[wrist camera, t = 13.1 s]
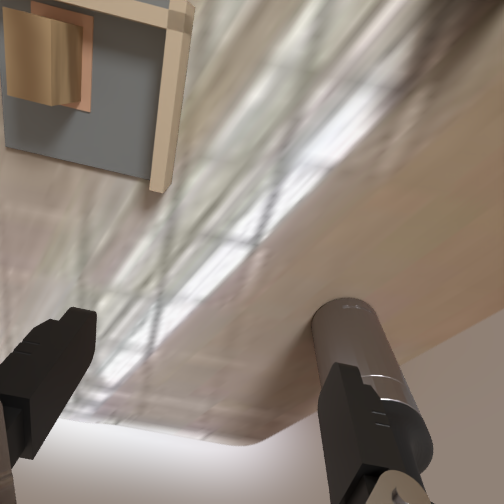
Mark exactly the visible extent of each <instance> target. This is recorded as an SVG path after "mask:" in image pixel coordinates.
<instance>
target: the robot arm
mask: <svg viewBox="0 0 504 504" xmlns="http://www.w3.org/2000/svg"><path fill="white" fill-rule="evenodd" d="M96 322H97V314H96V312H95V311H90V310H85V309H81V308H76V307H71V308H69V309H68V310H67V312H66V313H65V314H64V315H63V316H62V318H61V319H60V320H59V321H57V320H52V319H49V320H47V321H45V322H43V323H42V324H40V325H38V326H36V327H34V328H33V329H32V330H31V331H30V332H29V334H28V335H27V336H26V337H25V338H24V339H23V341H22V343H21V342H20V343H19V345H18V346H17V347H16V348H15V349H14V351H13V353H12V352H11V353H10V354H9V356H8V357H7V358H6V359H5V360H4V361H3V362H2V363H1V364H0V504H16V496H15V489H14V482H13V475H12V472H11V469H12V468H13V466H14V465H15V463H16V461H17V460H18V458H19V457H20V458H25V459H31V460H33V459H34V457H35V456H36V454H37V452H38V450H39V449H40V447H41V446H42V444H43V442H44V441H45V439H46V437H47V436H48V434H49V432H50V430H51V429H52V427H53V426H54V424H55V422H56V420H57V419H58V417H59V416H60V414H61V412H62V411H63V409H64V407H65V406H66V404H67V402H68V401H69V399H70V397H71V396H72V394H73V392H74V391H75V389H76V387H77V386H78V384H79V383H80V381H81V379H82V378H83V376H84V374H85V373H86V371H87V369H88V368H89V366H90V364H91V361H92V359H93V356H94V352H95V342H96ZM311 328H312V334H313V341H314V349H315V354H316V360H317V366H318V372H319V378H320V384H321V392H320V395H319V399H318V417H319V424H320V431H321V438H322V444H323V451H324V457H325V464H326V472H327V478H328V485H329V493H330V502H331V504H434V503H432V502H431V501H430V499H429V498H428V495H427V494H426V491H425V488H424V485H423V482H422V479H421V476H420V474H421V473H422V472H423V471H424V470H425V469H426V468H427V467H428V465H429V464H430V462H431V459H432V456H433V443H432V440H431V436H430V434H429V432H428V429H427V427H426V425H425V422H424V420H423V418H422V417H421V414H420V411H419V409H418V407H417V405H416V402H415V400H414V398H413V396H412V394H411V392H410V389H409V387H408V385H407V382H406V380H405V378H404V376H403V374H402V371H401V370H400V367H399V364H398V362H397V360H396V358H395V355H394V353H393V351H392V349H391V346H390V344H389V342H388V340H387V337H386V335H385V333H384V331H383V328H382V326H381V324H380V322H379V319H378V317H377V315H376V313H375V311H374V310H373V308H372V307H371V306H370V305H368V304H367V303H365V302H363V301H361V300H358V299H353V298H341V299H336V300H333V301H331V302H328V303H327V304H325V305H324V306H322V307H321V308H320V309H319V310H318V311H317V312H316V314H315V315H314V317H313V320H312V326H311Z"/></svg>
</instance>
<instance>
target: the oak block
mask: <svg viewBox="0 0 504 504" xmlns="http://www.w3.org/2000/svg"><path fill="white" fill-rule="evenodd" d="M2 8H3V26H4V44H5V63H6V81H7V95H9V96H13V97H17V98H21V99H25V100H29V101H33V102H37V103H41V104H45V105H49V106H55V105H61V104H67V103H73V102H79V101H81V79H82V43H83V27H82V26H78V25H74V24H70V23H66V22H63V21H59V20H55V19H51V18H48V17H44V16H40V15H36V14H32V13H28V12H23V11H19V10H15V9H11V8H7V7H3V6H2Z"/></svg>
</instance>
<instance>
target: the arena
mask: <svg viewBox="0 0 504 504" xmlns="http://www.w3.org/2000/svg"><path fill="white" fill-rule="evenodd" d="M2 6H3V7H7V8H11V9H15V10H19V11H23V12H28V13H32V14H36V15H40V16H44V17H48V18H51V19H55V20H59V21H63V22H66V23H70V24H74V25H78V26H82V27H83V43H82V79H81V101H79V102H73V103H67V104H61V105H55V106H49V105H45V104H41V103H37V102H33V101H29V100H25V99H21V98H17V97H13V96H9V95H7V81H6V63H5V44H4V26H3V8H2ZM194 13H195V7H194V6H193V5H192V4H190V3H189V2H188V1H187V0H0V73H1V88H2V103H3V117H4V132H5V146H6V147H10V148H14V149H19V150H23V151H27V152H32V153H36V154H40V155H45V156H49V157H53V158H57V159H62V160H66V161H70V162H75V163H79V164H83V165H88V166H92V167H96V168H101V169H105V170H109V171H113V172H118V173H122V174H126V175H131V176H135V177H139V178H144V179H148V180H150V188H149V190H151V191H155V192H159V193H164V191H165V190H166V189H167V188H168V187H169V186H170V184H171V183H172V175H173V168H174V160H175V153H176V146H177V138H178V131H179V123H180V116H181V109H182V101H183V94H184V86H185V79H186V72H187V64H188V57H189V50H190V42H191V35H192V27H193V20H194Z"/></svg>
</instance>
